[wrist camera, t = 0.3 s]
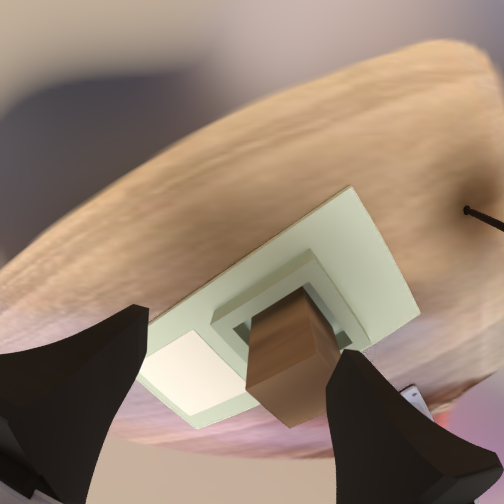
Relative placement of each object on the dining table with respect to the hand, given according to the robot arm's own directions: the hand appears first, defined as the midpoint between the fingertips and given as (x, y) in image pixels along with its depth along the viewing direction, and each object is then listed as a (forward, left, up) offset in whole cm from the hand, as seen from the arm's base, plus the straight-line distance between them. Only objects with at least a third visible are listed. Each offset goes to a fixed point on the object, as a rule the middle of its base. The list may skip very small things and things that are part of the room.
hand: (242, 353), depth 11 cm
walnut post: (-5, +1, -9) cm, 11 cm away
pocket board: (-5, +4, -10) cm, 12 cm away
